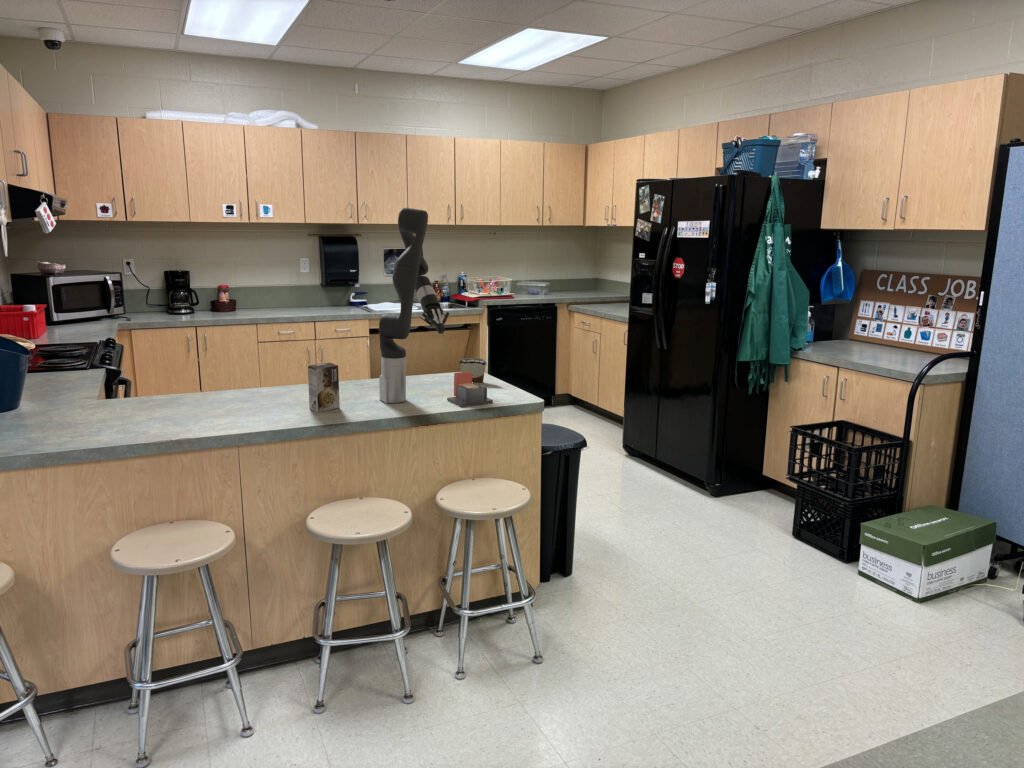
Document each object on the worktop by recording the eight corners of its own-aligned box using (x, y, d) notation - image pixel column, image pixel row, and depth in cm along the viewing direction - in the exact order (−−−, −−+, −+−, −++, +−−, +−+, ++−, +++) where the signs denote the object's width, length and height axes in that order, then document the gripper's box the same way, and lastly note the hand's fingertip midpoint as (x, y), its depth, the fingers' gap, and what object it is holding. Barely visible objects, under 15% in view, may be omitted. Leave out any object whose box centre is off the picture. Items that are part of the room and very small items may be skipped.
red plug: (465, 400, 269) (465, 377, 267) (453, 395, 276) (454, 372, 274) (481, 398, 273) (481, 375, 271) (469, 393, 280) (469, 371, 278)
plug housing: (461, 407, 265) (461, 390, 264) (447, 400, 274) (447, 384, 273) (492, 403, 273) (493, 386, 272) (477, 396, 282) (478, 380, 280)
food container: (488, 380, 310) (488, 358, 307) (486, 383, 304) (486, 361, 301) (460, 379, 311) (460, 356, 308) (458, 382, 305) (458, 359, 303)
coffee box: (330, 404, 263) (329, 362, 259) (340, 408, 259) (339, 365, 255) (308, 408, 257) (307, 365, 253) (317, 412, 252) (316, 368, 249)
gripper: (416, 293, 287) (430, 328, 280) (445, 292, 294) (459, 326, 287) (410, 305, 293) (424, 339, 285) (439, 304, 300) (453, 337, 293)
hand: (442, 332), depth 286 cm, fingers closed
